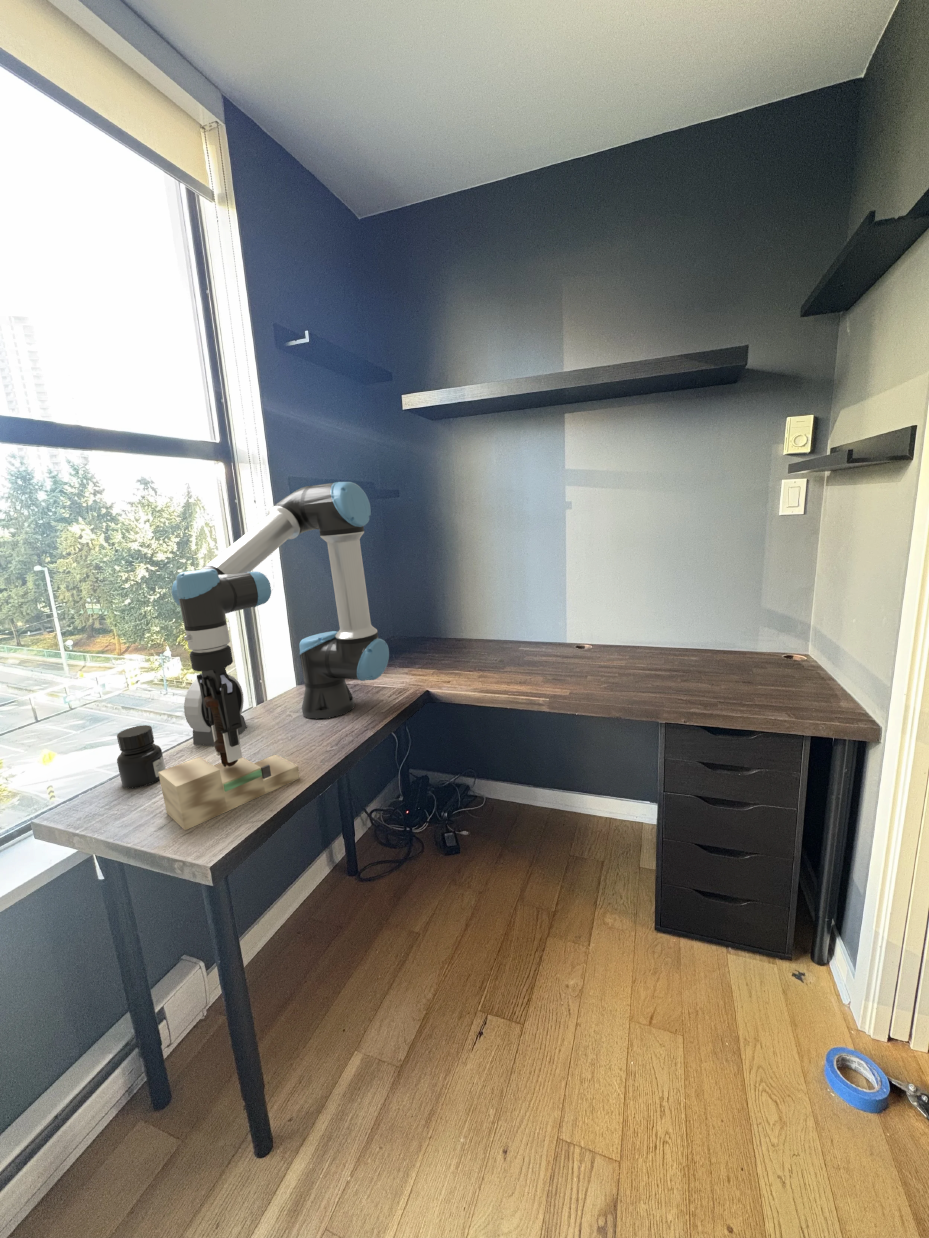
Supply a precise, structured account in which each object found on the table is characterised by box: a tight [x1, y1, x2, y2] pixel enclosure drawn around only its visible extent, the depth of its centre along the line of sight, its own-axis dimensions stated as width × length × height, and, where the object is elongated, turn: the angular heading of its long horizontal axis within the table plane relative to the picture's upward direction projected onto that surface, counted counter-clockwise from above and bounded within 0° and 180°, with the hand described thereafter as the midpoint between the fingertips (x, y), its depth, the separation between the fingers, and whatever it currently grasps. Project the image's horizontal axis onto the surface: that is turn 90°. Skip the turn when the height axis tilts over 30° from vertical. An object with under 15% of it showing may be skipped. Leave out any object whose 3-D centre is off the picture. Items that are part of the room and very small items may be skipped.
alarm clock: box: [183, 673, 248, 747], centre depth 144 cm, size 16×10×18 cm, turn 161°
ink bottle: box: [116, 724, 166, 789], centre depth 121 cm, size 10×9×12 cm
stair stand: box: [158, 754, 301, 831], centre depth 111 cm, size 24×11×9 cm, turn 137°
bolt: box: [204, 694, 238, 767], centre depth 109 cm, size 6×5×15 cm
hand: (229, 756), depth 110 cm, fingers closed on bolt, 5 cm apart
